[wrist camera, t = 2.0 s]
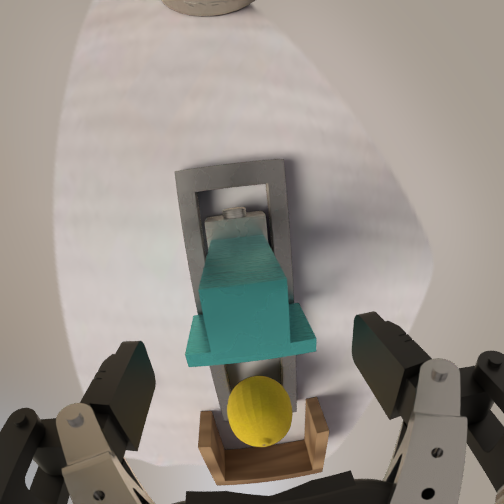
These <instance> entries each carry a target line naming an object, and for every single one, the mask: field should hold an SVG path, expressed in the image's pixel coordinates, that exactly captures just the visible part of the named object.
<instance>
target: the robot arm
mask: <svg viewBox="0 0 504 504" xmlns="http://www.w3.org/2000/svg"><path fill="white" fill-rule="evenodd" d="M161 1H162V2H163V3H164V4H165V5H166V6H167V7H169V8H170V9H172V10H174V11H177V12H179V13H183V14H187V15H194V16H215V15H220V14H226V13H230V12H233V11H236V10H239V9H241V8H243V7H245V6H247V5H249V4H250V3H252V2H253V1H255V0H161ZM352 356H353V360H354V363H355V365H356V366H357V368H358V369H359V371H360V373H361V374H362V376H363V377H364V379H365V381H366V382H367V384H368V385H369V387H370V389H371V390H372V392H373V394H374V395H375V397H376V398H377V400H378V402H379V403H380V405H381V406H382V408H383V410H384V411H385V413H386V415H387V416H388V418H389V419H390V420H391V419H393V418H396V417H399V416H401V417H402V419H403V422H402V425H401V429H400V432H399V436H398V439H397V442H396V446H395V449H394V452H393V456H392V459H391V462H390V465H389V467H388V470H387V472H386V474H385V477H384V478H383V481H381V480H375V479H354V478H353V475H352V473H351V471H347V472H344V473H340V474H336V475H332V476H328V477H324V478H320V479H315V480H311V481H309V482H307V483H304V484H302V485H299V486H297V487H294V488H292V489H289V490H287V491H284V492H281V493H278V494H275V495H272V496H261V495H251V494H242V493H235V492H229V491H218V492H217V491H216V492H215V491H214V492H194V491H186V501H181V502H177V503H174V504H458V500H459V495H460V490H461V484H462V478H463V471H464V463H465V453H466V443H467V444H468V446H469V447H470V449H471V451H472V452H473V454H474V455H475V457H476V458H477V460H478V461H479V463H480V465H481V466H482V468H483V470H484V471H485V473H486V475H487V476H488V478H489V480H490V481H491V483H492V485H493V486H494V488H495V490H496V492H497V495H496V501H495V502H496V503H495V504H504V426H503V425H502V424H501V423H500V421H499V420H498V419H497V418H496V416H495V415H494V414H493V413H492V411H491V410H490V409H491V407H492V405H493V404H494V402H495V403H496V404H497V406H498V407H499V408H500V409H501V410H502V412H503V413H504V354H502V353H500V352H497V351H486V352H483V353H482V354H480V356H479V357H478V360H477V363H476V365H475V366H471V367H465V368H458V367H457V366H456V365H455V364H454V363H453V362H451V361H448V360H446V359H439V358H438V359H432V358H431V357H430V356H429V355H428V354H427V353H426V352H425V351H423V349H422V348H421V347H420V346H419V345H418V344H417V343H416V342H415V341H414V340H412V338H411V337H410V336H409V335H408V334H407V335H406V332H405V331H404V330H403V329H402V328H401V327H400V326H398V325H396V324H394V323H392V322H390V321H384V320H383V319H382V318H381V317H380V316H379V315H378V314H377V313H376V312H374V311H373V312H369V313H364V314H359V315H356V316H355V318H354V328H353V341H352ZM155 384H156V381H155V374H154V371H153V368H152V365H151V363H150V360H149V357H148V354H147V351H146V348H145V345H144V343H143V342H142V341H126V342H122V343H121V345H120V347H119V348H118V350H117V352H116V354H112V355H111V356H109V357H108V358H107V359H106V360H105V361H104V362H103V363H102V365H101V366H100V368H99V370H98V372H97V373H96V375H95V377H94V379H93V380H92V382H91V384H90V386H89V387H88V389H87V391H86V393H85V395H84V396H83V398H82V400H81V402H80V403H74V404H70V405H68V406H66V407H65V408H63V409H62V410H61V411H60V412H59V413H58V415H57V417H56V418H53V419H42V420H40V418H39V417H38V415H37V414H36V413H35V411H34V410H32V409H30V408H22V409H18V410H16V411H15V412H13V413H12V414H11V415H10V417H9V418H8V420H7V421H6V423H5V425H4V427H3V428H2V430H1V432H0V504H67V503H68V499H69V495H70V497H71V500H72V502H73V504H155V503H154V502H153V501H152V499H151V498H150V497H149V495H148V494H147V492H146V491H145V489H144V488H143V486H142V485H141V483H140V482H139V480H138V479H137V477H136V475H135V474H134V472H133V471H132V469H131V467H130V466H129V464H128V462H127V460H126V459H125V458H124V454H125V451H126V450H130V451H138V447H139V443H140V439H141V436H142V432H143V428H144V425H145V421H146V417H147V414H148V410H149V407H150V403H151V400H152V397H153V393H154V390H155ZM32 459H33V460H34V461H35V462H36V463H37V464H38V465H39V466H38V469H37V472H36V474H35V477H34V479H33V482H32V485H31V487H30V490H28V488H27V487H26V484H25V476H26V473H27V471H28V468H29V466H30V464H31V461H32Z"/></svg>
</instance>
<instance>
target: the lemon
mask: <svg viewBox="0 0 504 504" xmlns="http://www.w3.org/2000/svg"><path fill="white" fill-rule="evenodd" d="M227 415H228V419H229V423H230V426H231V429H232V431H233V432H234V434H235V435H236V436H237V438H239V439H240V440H241V441H243V442H244V443H246V444H248V445H251V446H255V447H267V446H270V445H273V444H275V443H277V442H279V441H280V440H281V439H282V438H284V436H285V435H286V434H287V432H288V431H289V429H290V426H291V421H292V405H291V401H290V398H289V395H288V393H287V392H286V390H285V389H284V388H283V386H282V385H281V384H279V383H278V382H277V381H275V380H274V379H271V378H269V377H265V376H253V377H249V378H246V379H244V380H243V381H241V382H239V383H238V384H237V385H236V386H235V387H234V389H233V390H232V392H231V394H230V396H229V399H228V405H227Z"/></svg>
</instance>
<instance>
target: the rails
mask: <svg viewBox="0 0 504 504" xmlns="http://www.w3.org/2000/svg"><path fill="white" fill-rule="evenodd" d="M175 179H176V187H177V195H178V202H179V209H180V216H181V223H182V229H183V236H184V242H185V248H186V254H187V260H188V265H189V271H190V276H191V282H192V287H193V292H194V297H195V302H196V307H197V312H198V315H203V312H202V307H201V302H200V297H199V291H198V289H199V285H200V281H201V277H202V273H203V269H204V265H205V261H206V251H205V244H204V237H203V230H202V223H201V216H200V209H199V201H198V193H197V192H199V191H206V190H214V189H222V188H230V187H239V186H248V185H257V184H266V192H267V203H268V213H269V224H270V236H271V247H272V251H273V253H274V255H275V257H276V259H277V261H278V263H279V264H280V266H281V268H282V270H283V272H284V274H285V276H286V278H287V286H288V303H289V304H294V295H293V276H292V259H291V243H290V229H289V216H288V203H287V191H286V180H285V169H284V159H274V160H262V161H252V162H242V163H233V164H224V165H216V166H208V167H201V168H194V169H187V170H181V171H175ZM280 367H281V384H282V386H283V388H284V389H285V390H286V392H287V393H288V395H289V398H290V401H291V405H292V412H297V399H296V355H292V356H286V357H280ZM210 369H211V373H212V377H213V381H214V385H215V389H216V393H217V397H218V400H219V404H220V408H221V411H222V415H223V418H224V421H228V420H229V419H228V415H227V405H228V399H229V396H230V394H231V388H230V383H229V378H228V373H227V369H226V364H222V365H211V366H210Z"/></svg>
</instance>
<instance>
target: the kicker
mask: <svg viewBox="0 0 504 504" xmlns="http://www.w3.org/2000/svg"><path fill="white" fill-rule="evenodd" d="M222 213H223V215H220V216H212V217H207V218H206V220H205V222H204V223H205V230H206V237H207V244H208V253H207V257H206V261H205V265H204V269H203V273H202V277H201V281H200V285H199V289H198V291H199V297H200V302H201V307H202V312H203V315H195V316H193V321H192V325H191V330H190V334H189V339H188V344H187V349H186V353H185V356H186V359H187V363H188V366H189V367H197V366H211V365H222V364H232V363H241V362H250V361H258V360H266V359H273V358H279V357H286V356H292V355H298V354H304V353H309V352H315V351H316V337H315V335H314V333H313V331H312V329H311V327H310V325H309V323H308V321H307V319H306V317H305V315H304V313H303V311H302V309H301V307H300V305H299V303H294V304H289V303H288V286H287V278H286V276H285V274H284V272H283V270H282V268H281V266H280V264H279V263H278V261H277V259H276V257H275V255H274V253H273V251H272V249H271V247H270V245H269V244H268V236H267V225H266V215H265V214H264V213H263V211H254V212H246V208H245V207H234V208H227V209H224V210H222Z"/></svg>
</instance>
